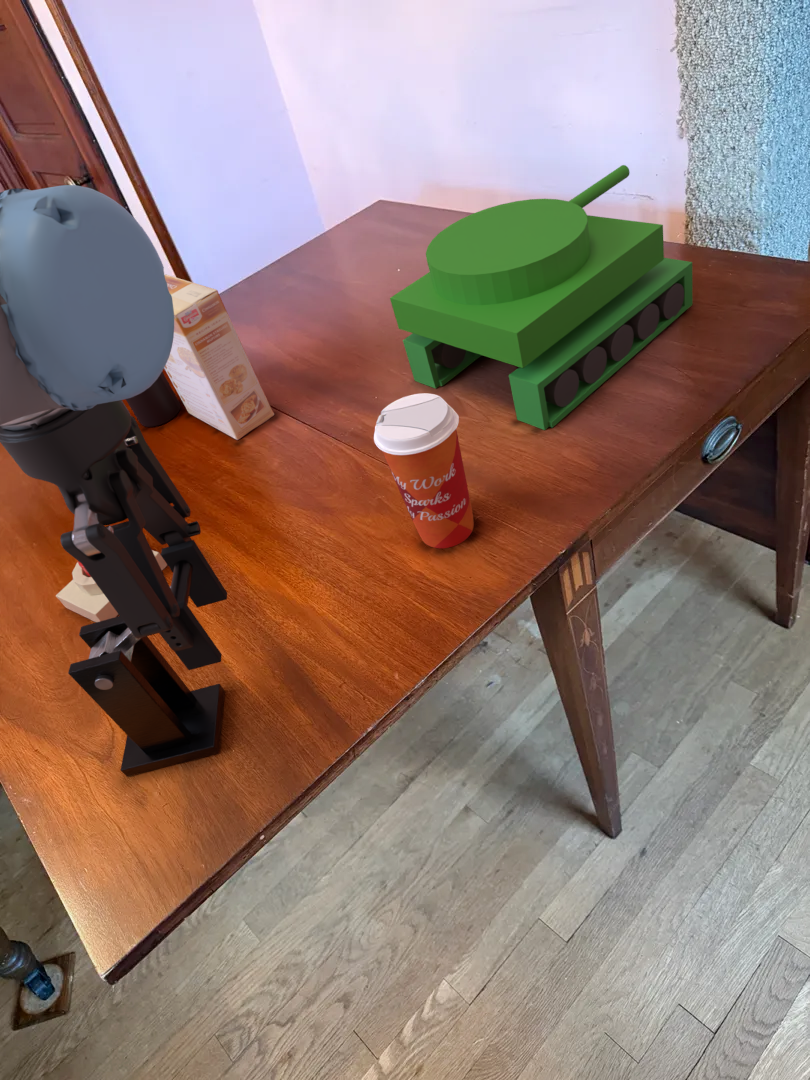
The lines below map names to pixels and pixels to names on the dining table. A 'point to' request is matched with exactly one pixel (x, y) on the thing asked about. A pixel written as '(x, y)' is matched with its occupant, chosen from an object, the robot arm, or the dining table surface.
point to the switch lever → (127, 639)
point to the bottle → (155, 403)
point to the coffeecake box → (212, 363)
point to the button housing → (91, 595)
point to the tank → (542, 299)
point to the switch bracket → (149, 703)
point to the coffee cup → (427, 466)
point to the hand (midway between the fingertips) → (208, 629)
